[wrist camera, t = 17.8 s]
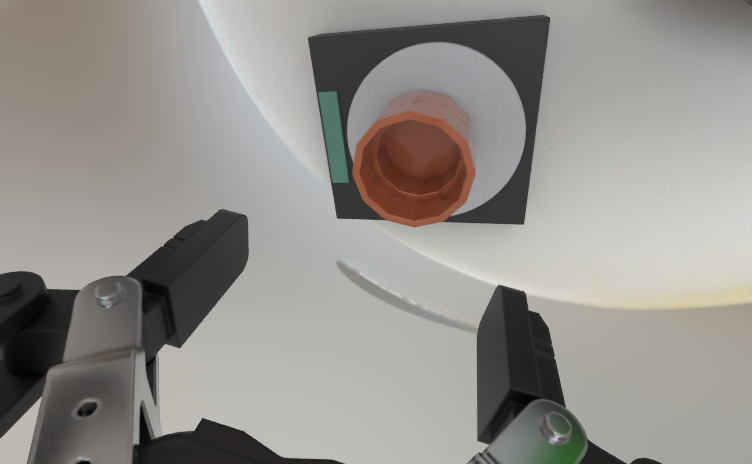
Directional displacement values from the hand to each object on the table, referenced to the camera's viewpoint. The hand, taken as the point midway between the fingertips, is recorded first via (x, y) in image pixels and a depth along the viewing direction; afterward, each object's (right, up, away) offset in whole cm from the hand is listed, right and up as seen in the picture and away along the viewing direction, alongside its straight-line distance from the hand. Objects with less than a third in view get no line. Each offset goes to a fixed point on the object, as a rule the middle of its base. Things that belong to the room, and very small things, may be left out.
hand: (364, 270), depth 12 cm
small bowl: (+3, +7, +11) cm, 13 cm away
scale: (+4, +8, +13) cm, 16 cm away
